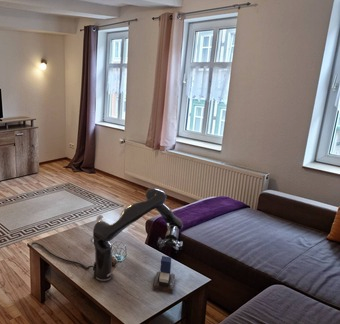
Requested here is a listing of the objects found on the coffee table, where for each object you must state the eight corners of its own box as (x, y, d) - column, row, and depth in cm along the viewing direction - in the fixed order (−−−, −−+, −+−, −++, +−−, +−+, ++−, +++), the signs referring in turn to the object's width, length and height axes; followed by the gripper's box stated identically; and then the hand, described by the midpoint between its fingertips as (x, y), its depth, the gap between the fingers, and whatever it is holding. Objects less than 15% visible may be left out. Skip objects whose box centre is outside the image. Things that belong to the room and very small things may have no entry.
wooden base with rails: (153, 290, 177) (153, 283, 176) (156, 276, 189) (156, 269, 188) (172, 293, 174) (172, 286, 173) (174, 279, 186) (175, 272, 185)
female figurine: (103, 250, 216) (103, 222, 210) (88, 240, 228) (87, 214, 222) (115, 244, 222) (116, 217, 217) (100, 235, 234) (100, 209, 229)
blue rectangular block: (161, 273, 186) (162, 255, 183) (170, 274, 185) (171, 257, 182) (158, 284, 176) (159, 266, 173) (168, 286, 175) (169, 268, 172)
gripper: (160, 229, 206) (156, 242, 191) (184, 233, 201) (181, 246, 187) (159, 240, 208) (155, 253, 193) (183, 244, 203) (181, 258, 189)
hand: (168, 250), depth 190 cm, fingers open, 8 cm apart
